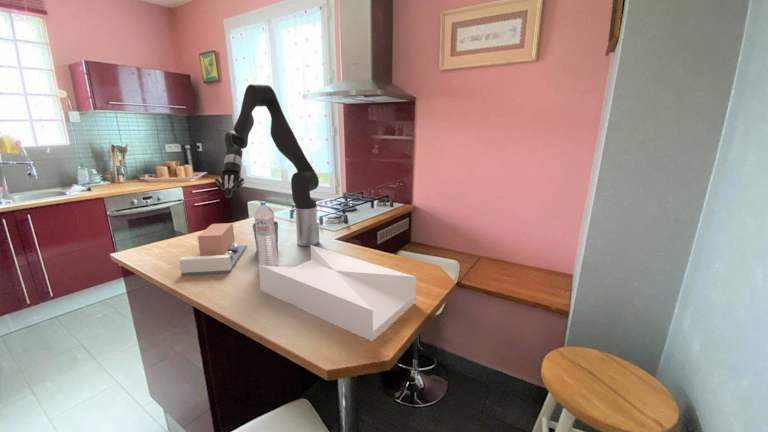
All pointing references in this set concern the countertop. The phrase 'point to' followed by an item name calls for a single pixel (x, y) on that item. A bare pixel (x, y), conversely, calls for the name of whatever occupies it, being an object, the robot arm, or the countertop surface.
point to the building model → (343, 291)
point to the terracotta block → (216, 239)
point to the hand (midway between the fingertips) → (227, 196)
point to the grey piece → (210, 263)
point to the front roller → (226, 253)
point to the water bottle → (265, 235)
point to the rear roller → (233, 247)
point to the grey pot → (275, 233)
